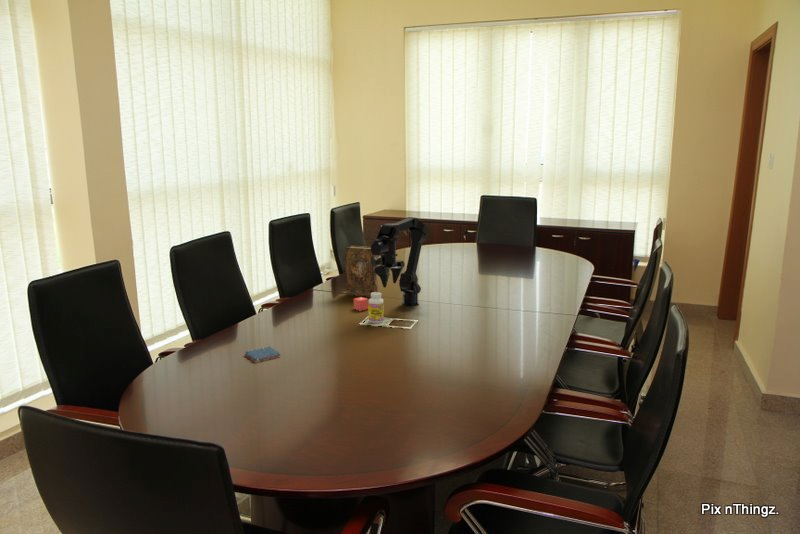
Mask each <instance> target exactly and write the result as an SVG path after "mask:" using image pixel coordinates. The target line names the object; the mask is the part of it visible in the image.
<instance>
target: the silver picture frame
mask: <svg viewBox="0 0 800 534" xmlns="http://www.w3.org/2000/svg"><path fill="white" fill-rule="evenodd" d="M393 320H394V321H399V320H403V321H402V322H411V321H412V322H411V323H412V324H411V325H410V327H407V326H397V325H395V326H394V325H391V324H392V323H393V322H394V321H393ZM364 321H365V322H364ZM392 321H393V322H392ZM363 322H364V323H363ZM391 322H392V323H391ZM418 322H419V320H417V319H416V320H415V319H408V318H407V319H405V318H403V319H402V318H394V317H393V318H392V317H384V321H383V322H381V323H371V322H369V315H368V316H366V317H365V318H364V319H363V320H361V321H360V322H359V323H358V325H359V324H360V325H359V326H367V325H371V326H370V327H378V326H382V327H381V328H390V327H392V328H393V329H401V328H403V330H412V329H413V328H414V327H415V326H416V325H417V324H418ZM390 323H391V324H390ZM389 324H390V325H389Z"/></svg>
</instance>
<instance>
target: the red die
mask: <svg viewBox="0 0 800 534" xmlns="http://www.w3.org/2000/svg"><path fill="white" fill-rule="evenodd" d="M368 302H369V298H368V297H362V296H359V297H356V298H353V310H355V309H356V310H355V311H358V310H359V311H358V312H363V311H367V310H366V309H368V310H369V303H368ZM362 310H363V311H362Z"/></svg>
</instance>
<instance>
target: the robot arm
mask: <svg viewBox="0 0 800 534" xmlns="http://www.w3.org/2000/svg"><path fill="white" fill-rule="evenodd" d="M405 230H408V231H409V232H410V235H409V236H410V237H409V238H410V241H411V245H410V250H409V253H408V259H407V264H406V268H405V262H404V260H397V259H396V258H397V257H398V253H396V252H397V251H396V249H397V248H396V242H398V241H399V239H398V238H397V237H398V236H399V235H400V234H401V232H403V231H405ZM429 232H430V231H429V228H428V226H427V225H426V224H425V223H423V222H422V221H420V220H419V219H418V218H417V217H414V216H413V217H412V216H408V217H406V218H404V219H401V220H399V221H397V222H394V223H383V224H382V225H381V227H380V229H379V232H378V234H377V236H376V239H374V242H372V243H371V246H370V247H371V252H372V253H373V254H374V255H377V256H379V255H380V257H377V258H376V257H374V258H371V264H372V265H373V267H375V266H377V265H378V266H377V267H375V268H374V273H376V274H377V275H378V276H379V279H380V281H381V284H382V286H383V288H386V287H387V285H388V282H389V277H390V276H392V277H391V278H392V282H393V284H396V283H397V281H398V282H399V283H398V284H399V289H400V292H403V294H402V304H403V305H404V304H405V306H406V307H410V306H412V305H413V306H420V303H419V297H418V294H420V292H421V290H422V287H421V286H420V284H419V283H418V280H419V278H418V275H417V269H418V264H419V260H420V259H419V258H420V255H421V251H422V247H423V244H424V242H425V241H426V240H427V238H428V235H429ZM404 268H405V271H404V272H402V271H403V269H404ZM390 271H391V273H392V275H390V274H391V273H390ZM399 276H400V277H399ZM398 278H399V280H398Z"/></svg>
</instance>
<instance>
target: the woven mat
mask: <svg viewBox="0 0 800 534" xmlns="http://www.w3.org/2000/svg"><path fill="white" fill-rule="evenodd" d="M244 356H245V357H246V358H248V359H250V361H252V362H253V363H255V364H257V363H260V362H265V361H268V360H274V359H277V358H280V357H281V354H280V352H278V350H275V349H274V348H273V347H271V346H267V347H266V346H265V347H261V348H257V349H252V350H249V351H245V353H244Z"/></svg>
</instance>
